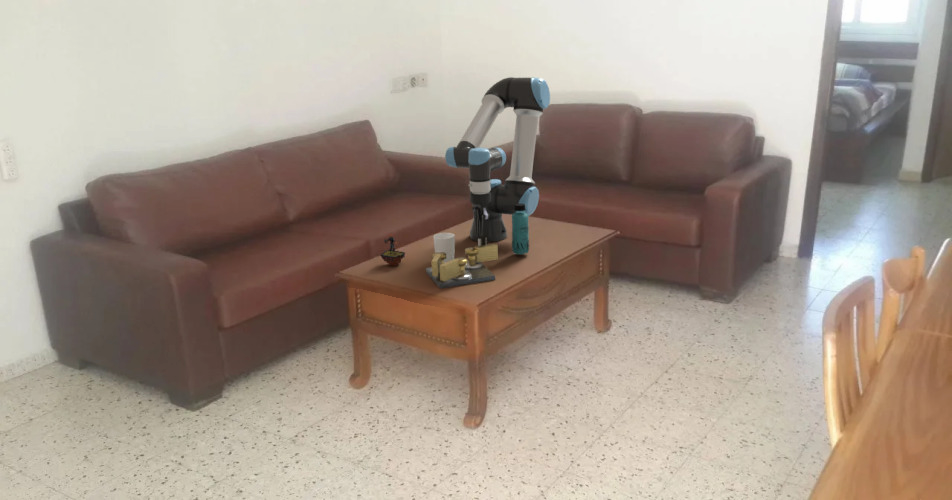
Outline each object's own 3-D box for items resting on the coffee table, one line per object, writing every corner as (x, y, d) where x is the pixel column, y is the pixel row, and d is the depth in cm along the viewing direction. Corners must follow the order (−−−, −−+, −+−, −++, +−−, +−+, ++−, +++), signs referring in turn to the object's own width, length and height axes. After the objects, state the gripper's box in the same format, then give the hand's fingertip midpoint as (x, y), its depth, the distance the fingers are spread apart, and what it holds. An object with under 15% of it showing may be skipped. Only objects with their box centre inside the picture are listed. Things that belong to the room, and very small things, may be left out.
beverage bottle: (508, 256, 298) (507, 204, 292) (519, 251, 303) (518, 201, 296) (521, 259, 294) (520, 207, 288) (533, 254, 298) (532, 203, 292)
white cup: (446, 256, 301) (444, 231, 298) (460, 260, 295) (459, 235, 292) (430, 261, 296) (429, 236, 292) (444, 266, 290) (443, 240, 287)
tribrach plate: (478, 264, 290) (478, 255, 289) (495, 279, 274) (495, 270, 273) (426, 272, 284) (425, 263, 283) (440, 288, 268) (439, 279, 267)
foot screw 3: (468, 266, 281) (467, 250, 279) (463, 262, 285) (463, 247, 283) (499, 262, 284) (498, 246, 283) (494, 258, 289) (494, 242, 287)
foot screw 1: (434, 266, 283) (433, 250, 281) (448, 266, 282) (447, 250, 280) (428, 277, 272) (427, 261, 270) (442, 277, 271) (441, 261, 269)
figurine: (410, 263, 294) (408, 232, 290) (397, 270, 288) (395, 238, 284) (389, 260, 299) (387, 229, 295) (376, 266, 293) (373, 235, 289)
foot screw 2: (460, 271, 277) (460, 254, 275) (471, 273, 274) (470, 257, 272) (437, 280, 268) (436, 264, 266) (447, 283, 265) (446, 266, 263)
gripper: (464, 189, 288) (467, 250, 295) (476, 196, 276) (478, 260, 283) (484, 186, 290) (486, 248, 297) (496, 194, 278) (498, 257, 285)
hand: (482, 254), depth 290 cm, fingers closed
